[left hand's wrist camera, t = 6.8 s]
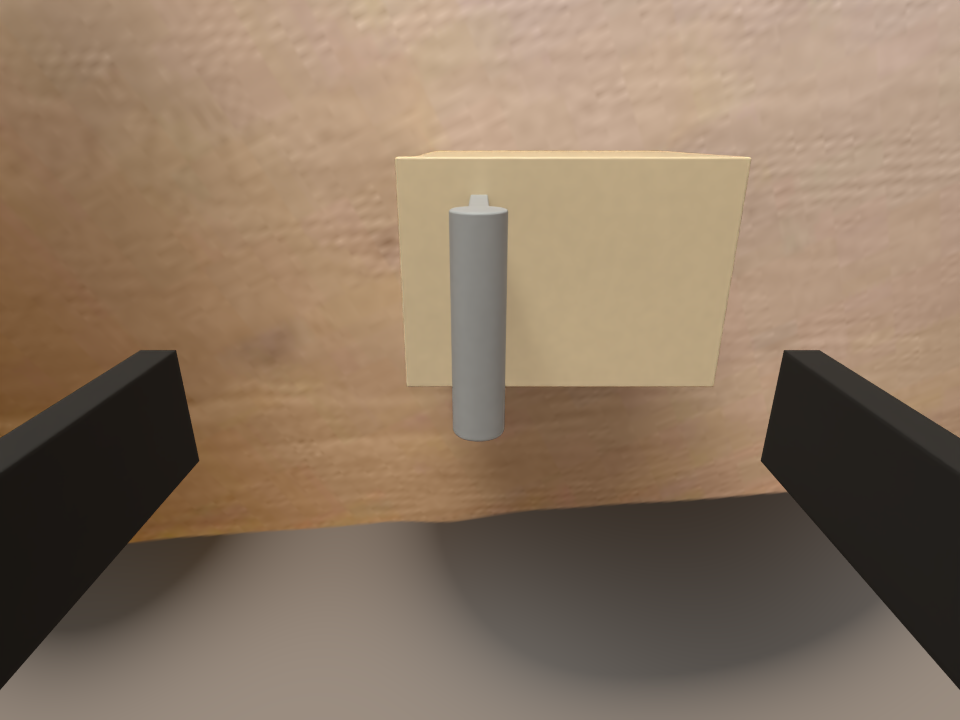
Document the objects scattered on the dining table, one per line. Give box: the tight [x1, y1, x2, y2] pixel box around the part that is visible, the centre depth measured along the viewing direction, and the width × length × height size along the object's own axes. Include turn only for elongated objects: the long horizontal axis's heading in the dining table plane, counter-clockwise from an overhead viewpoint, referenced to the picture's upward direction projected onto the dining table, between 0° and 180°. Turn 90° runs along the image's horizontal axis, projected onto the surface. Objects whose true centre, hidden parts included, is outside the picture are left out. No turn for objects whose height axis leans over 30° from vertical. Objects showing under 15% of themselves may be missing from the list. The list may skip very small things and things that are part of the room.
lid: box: [395, 157, 751, 441], centre depth 21 cm, size 14×10×8 cm
